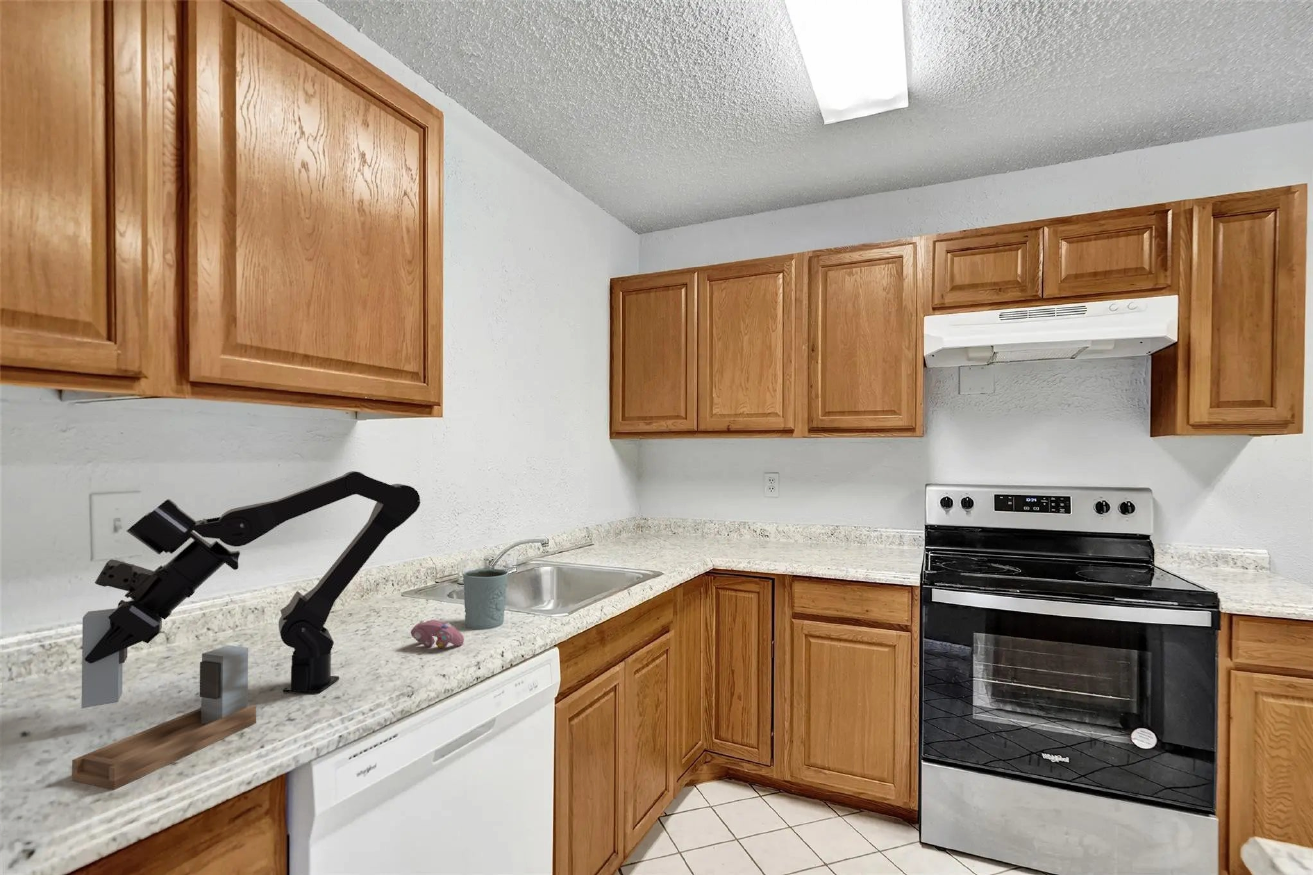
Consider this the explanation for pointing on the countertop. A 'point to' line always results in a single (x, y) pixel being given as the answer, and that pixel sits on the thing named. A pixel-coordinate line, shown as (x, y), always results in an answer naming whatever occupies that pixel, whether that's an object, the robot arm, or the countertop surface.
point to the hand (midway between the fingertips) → (90, 657)
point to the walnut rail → (178, 726)
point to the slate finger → (100, 663)
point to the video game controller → (436, 634)
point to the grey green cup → (484, 598)
